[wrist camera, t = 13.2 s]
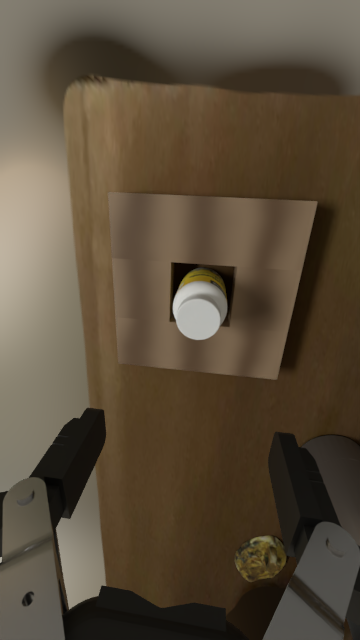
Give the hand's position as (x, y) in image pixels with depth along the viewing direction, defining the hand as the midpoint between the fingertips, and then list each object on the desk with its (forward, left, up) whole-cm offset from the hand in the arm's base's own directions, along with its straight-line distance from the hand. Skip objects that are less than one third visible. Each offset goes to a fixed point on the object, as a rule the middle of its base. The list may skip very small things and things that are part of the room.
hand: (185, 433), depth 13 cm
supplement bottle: (0, 0, -22) cm, 22 cm away
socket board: (0, 0, -22) cm, 22 cm away
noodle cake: (-15, +54, -23) cm, 60 cm away
